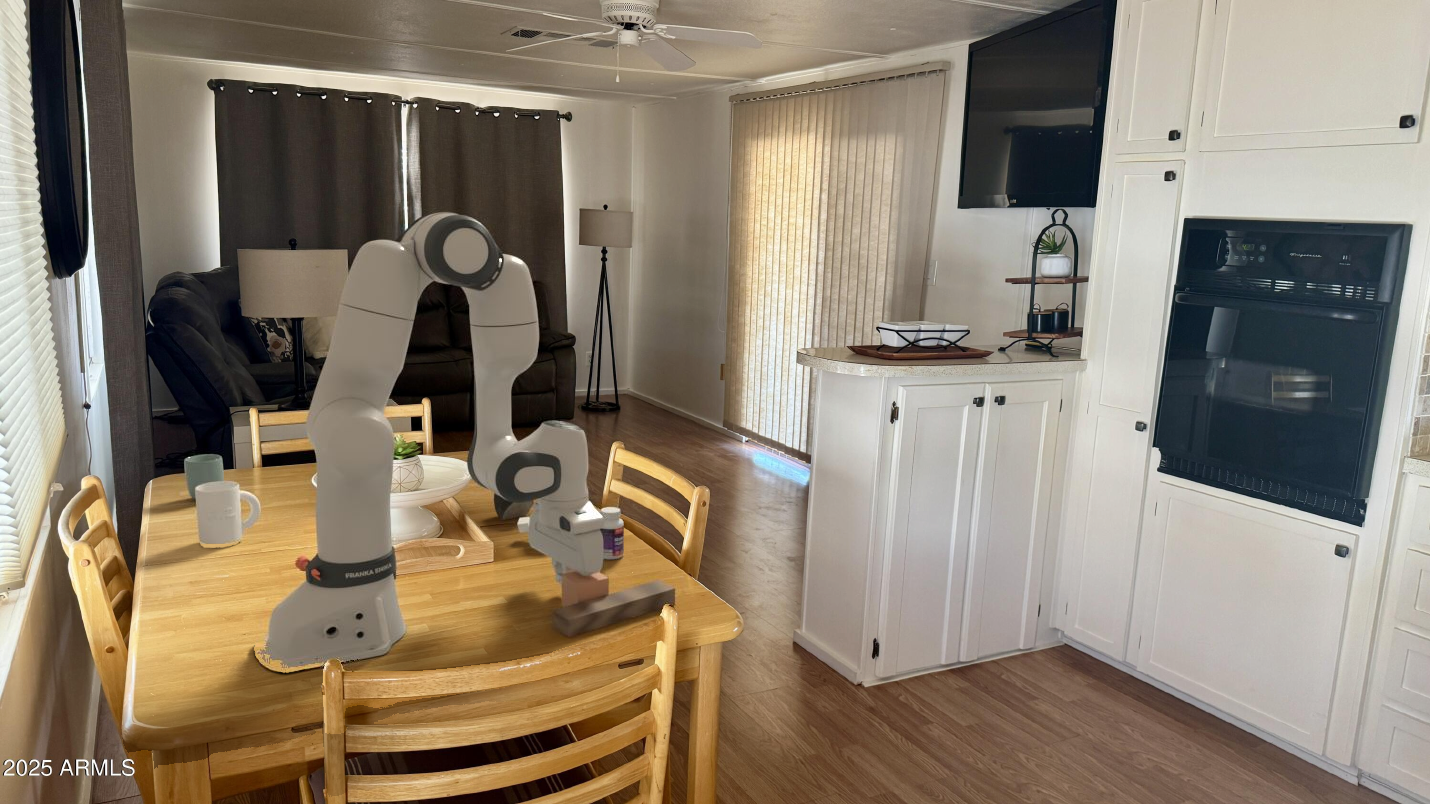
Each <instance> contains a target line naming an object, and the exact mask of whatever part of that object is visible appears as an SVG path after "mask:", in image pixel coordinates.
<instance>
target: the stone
mask: <svg viewBox="0 0 1430 804" xmlns="http://www.w3.org/2000/svg"><path fill="white" fill-rule="evenodd" d="M534 504H535V503H534V500H532V501H529V502H525V503H514V502H510V501H508V500H506V499H504V498H502V497H501V496H499V495H497V494H495V493H494V492H493V505H494V510H495V513H496V515H497V516H498V518H499V520H501V521H506V520H511V519H512V520H513V519H517V518H522V517H527V515H528V513H529V512H530V510H531V508H533V505H534Z"/></svg>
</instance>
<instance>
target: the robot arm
mask: <svg viewBox="0 0 1430 804" xmlns="http://www.w3.org/2000/svg"><path fill="white" fill-rule="evenodd" d="M532 279H533V278H532V277H531V273H530V269H529V267H528V265H527V264H526V263H525V261H523V260H522V259H521V258H519V257H517V256H514V255H511V254H507V253H506V254H505V253H503V252H502V251H501V250H500V248H499V246H498V245H497V244H496V242H495V240H494V238H493V236H492V235H491V233H490V232H489V230H488V229H487V228H486V227H485V226H484V225H483V224H482V223H481V222H480V221H478V220H477V219H474V218H473V217H470V216H468V215H462V214H459V213H455V212H452V211H451V212H450V211H449V212H448V211H447V212H446V211H443V212H442V211H440V212H433V213H428V214H424V215H422V216H420V217H419V218H417V219H415V220H414V221H413V222H412V223H411V224H410V225H409V226H408V227H407V228H406V229H405V230H404V231H403V232H402V233H401V234H400V235H399V236H398V237H397V238H396V239H395V240H391V239H376V240H371V241H368V242H366V243H365V244H363V245H361V247H360V248H359V250H358V251H357V253H356V255H355V257H354V259H353V262H352V264H351V266H350V269H349V271H348V273H347V278H346V280H345V282H344V285H343V290H342V293H341V297H340V301H339V305H338V308H337V309H338V310H337V313H336V318H335V323H334V327H333V331H332V335H331V340H330V343H329V348H328V352H327V355H326V359H325V360H324V361H325V362H324V364H323V366H322V369H321V373H320V374H319V378H318V380H317V384H316V387H315V389H314V393H313V396H312V400H311V403H310V406H309V410H308V413H307V415H306V416H307V417H306V421H305V432H306V436H307V438H308V440H309V442H310V444H311V446H312V447H313V450H314V453H315V459H316V494H315V495H316V496H315V507H314V514H315V527H316V528H315V529H316V544H317V545H316V546H317V548H316V549H317V553H316V554H315V555H314V557H313V558H312V559H311V560H310V559H309V558H308V557H307V556H304V555H300V556H298V557H297V558H296V559H295V562H294V565H295V567H296V568H297V569H298V570H299V571H301V572H305V579H306V580H304V581H303V582H302V583H301V584H300V585H299V586H297V588H295V589H294V590H293V591H292V592H291V593H290V594H289V595H288V596H286V597H285V598H284V599H283V600H282V601H281V602H280V603H278V604H277V605H276V606H275V607H274V608H273V609H272V612H271V614H270V617H269V618H270V619H269V625H268V633H267V634H268V635H267V634H266V635H267V638H265V637H266V636H264V635H263V636H264V638H265V639H264V641H265V640H266V639H268V640H266V642H267V643H266V645H265V646H267V647H265V649H266V651H265V650H264V649H263V650H261V649H260V651H261V653H260V652H258V653H257V654H261V655H262V654H263V657H262V659H263V660H264V661H265V662H266V659H265V655H264V654H268V655H270V657H269V664H270V659H272V660H273V661H274V660H281V661H283V662H282V663H280V664H281V665H282V668H285V665H287V666H288V668H290V667H298V666H305V665H308V664H315V663H322V662H324V664H325V663H326V662H327V660H330V659H339V660H340V661H342V660H343V661H344V663H347V662H346V661H349V662H351V661H350V660H354V661H359V660H363V659H368V658H373V657H378V656H383V655H385V654H387V653H388V652H389V651H390V649H391V647H392V645H393V644H395V643H396V642H397V641H399V640H400V639H401V638H402V637H403V636H404V635H405V633H406V632H407V626H406V622H405V620H404V617H403V615H402V611H401V608H400V603H399V598H398V593H397V588H396V587H397V586H396V581H395V580H396V579H397V556H396V552H395V551H396V550H395V547H394V545H393V542H392V519H391V517H392V516H391V495H392V494H391V493H392V484H393V476H394V475H393V473H394V456H395V455H394V454H395V445H396V444H395V443H396V439H395V434H394V430H393V427H392V425H391V423H390V421H389V420H388V418H387V417H386V416H385V411H386V410H385V409H386V406H387V404H388V401H389V398H390V396H391V394H392V391H393V388H394V386H395V383H396V381H397V379H398V377H399V375H400V374H401V373H402V370H403V369H404V365H405V360H406V356H407V352H408V347H409V342H410V339H411V335H412V330H413V325H414V320H415V316H416V313H417V307H418V302H419V300H420V298H421V295H422V293H423V291H424V290H425V289H426V287H427V286H429V285H430V284H431V283H433V282H436V283H439V284H440V283H441V284H445V285H452V286H457V287H460V288H461V289H462V291H463V292H464V294H465V296H466V300H467V302H468V305H469V324H470V326H469V327H470V338H471V345H472V346H471V348H472V355H473V371H474V373H473V378H474V379H473V386H474V387H473V394H474V395H473V396H474V397H473V398H474V399H473V400H474V433H473V438H472V441H471V444H470V447H469V451H468V453H467V458H466V461H467V462H466V466H467V471H468V473H469V475H470V478H471V479H472V481H473V482H475V483H476V484H477V485H479V486H480V487H482V488H483V489H487V490H490V491H491V492H493V494H494V493H495V494H497V495H499V496H501V497H502V498H504V499H506V500H508V501H510V502H514V503H525V502H529V501H532V500H533V501H535V500H537V501H535V503H534V504H533V505H532V511H531V513H530V516H529V517H530V520H529V532H528V534H527V535H528V538H527V539H528V543H529V546H530V547H531V548H532V549H534V550H536V551H538V552H539V553H542V554H543V555H545V556H547V557H549V558H551V564H552V567H553V571H554V572H555V582H556V583H559V585H562V574H565V573H569V572H574V571H576V572H578V573H579V574H581V575H583V576H588V575H592V574H596V573H599V572H600V573H601V570H602V569H603V566H604V559H603V536H602V533H601V531H600V530H599V529H601V528H603V527H604V518H603V517H602V515H601V512H599V511H598V510H597V509H596V508H595V506H594V505H593V503H592V502H591V501H590V500H589V489H588V485H587V476H588V473H589V452H588V451H589V449H588V442H587V436H586V433H585V431H584V430H583V428H581V427H580V426H578V425H576V424H574V423H572V422H567V421H563V420H562V421H561V420H560V421H559V420H547V421H543V422H542V423H541V424H540V426H539V427H538V428H537V429H536V430H534V431H533V432H532V433H530V434H529V435H528V436H526V437H524V438H523V439H521V440H518V439H517V438H516V436H515V434H514V433H513V429H512V389H513V388H512V387H513V384H514V382H515V380H516V378H517V377H519V375H521V374H522V373H524V372H525V371H527V370H528V369H529V368H530V367H531V366H532V365H533V363H534V362H535V361H536V359H537V357H538V349H539V346H540V345H539V342H540V327H539V326H540V325H539V317H538V316H539V314H538V308H537V307H538V306H537V300H536V298H537V297H536V294H535V289H534V285H533V281H532ZM260 637H261V636H260ZM261 638H262V637H261ZM259 641H260V640H259ZM262 641H263V640H262ZM318 659H319V660H318ZM357 659H358V660H357ZM267 663H268V658H267ZM283 664H284V667H283ZM324 664H323V665H324ZM323 665H322V667H321V668H323ZM287 666H286V668H287Z"/></svg>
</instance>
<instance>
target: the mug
mask: <svg viewBox="0 0 1430 804" xmlns="http://www.w3.org/2000/svg"><path fill="white" fill-rule="evenodd" d="M195 497H196V500H195V506H196V507H195V508H196V516H197V517H196V518H197V530H198V542H199V541H200V542H202V543H205V544H225V543H230V542H235V541H238V540H239V539H241V538H242V537H243V538H244V535H243V534H244V533H243V531H246V530H249V528H251V527H252V526H254V525H255V524H256V522H257V521H258V520H259V517H260V515H261V503H260V501H259V499H258V497H257V496H255V495H254V493H251V492H249V491H246V490H240V484H239V483H238V482H236V481H229V480H224V481H218V482H210V483H205V484H202V485H199V486H197V487H196V488H195ZM241 500H243V501H245V502H247V503H248V505H249V506H250V512H249V514H248V516H247V518H246V519H245V520H243V518H242V517H243V516H242V508H241V507H242V505H241Z"/></svg>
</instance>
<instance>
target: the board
mask: <svg viewBox="0 0 1430 804" xmlns="http://www.w3.org/2000/svg"><path fill="white" fill-rule="evenodd" d="M665 604H670V605H671V606H673V605H672V604H674V605H676V588H675V587H673V586H672V585H669V584H667V583H666V582H664V581H662V580H659V579H657V580H653V581H649V582H646V583H643V584H638V585H637V586H633V587H629V588H625V589H621V590H619V591H615V592H612V593H609V594H608V595H604V596H601V597H597V598H594V599H590V600H587V601H583V602H580V603H576V604H573V605H569V606H566V607H563V606H562V607H560V608H559V607H558V608H555V609H552V628H553V629H555V630H556V631H558V632H560V633H561V634H563V635H565V636H566V638H567V637H568V638H572V637H574V636H578V635H580V634H581V635H582V634H585V633H588V632H591V631H594V630H597V629H601V628H604V627H606V626H610V625H614V624H616V623H619V622H623V621H626V620H629V619H632V618H635V617H639V616H642V615H646V614H649V613H651V612H655V611H658V610H661V609H663V608H662V607H663V606H664V605H665Z"/></svg>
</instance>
